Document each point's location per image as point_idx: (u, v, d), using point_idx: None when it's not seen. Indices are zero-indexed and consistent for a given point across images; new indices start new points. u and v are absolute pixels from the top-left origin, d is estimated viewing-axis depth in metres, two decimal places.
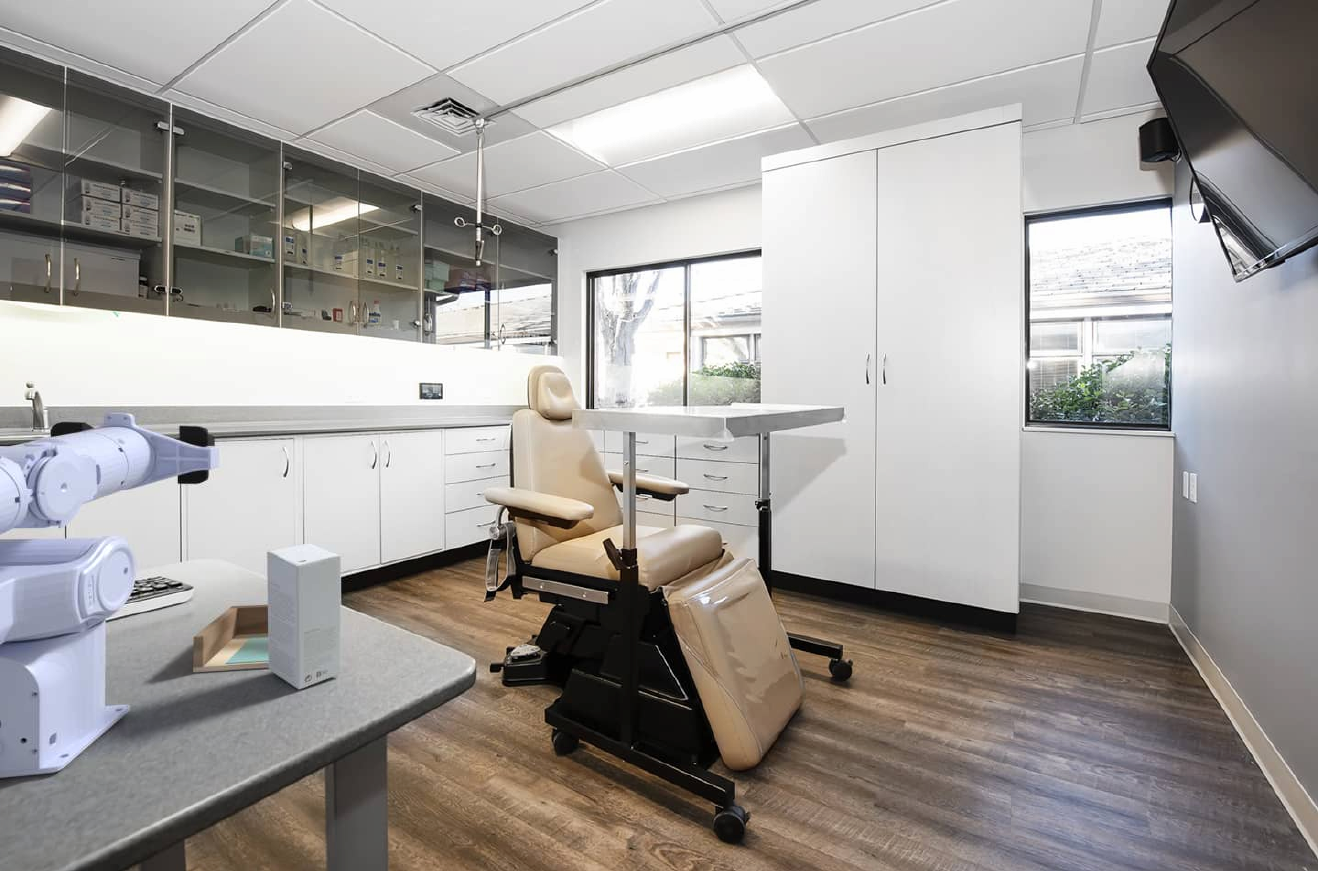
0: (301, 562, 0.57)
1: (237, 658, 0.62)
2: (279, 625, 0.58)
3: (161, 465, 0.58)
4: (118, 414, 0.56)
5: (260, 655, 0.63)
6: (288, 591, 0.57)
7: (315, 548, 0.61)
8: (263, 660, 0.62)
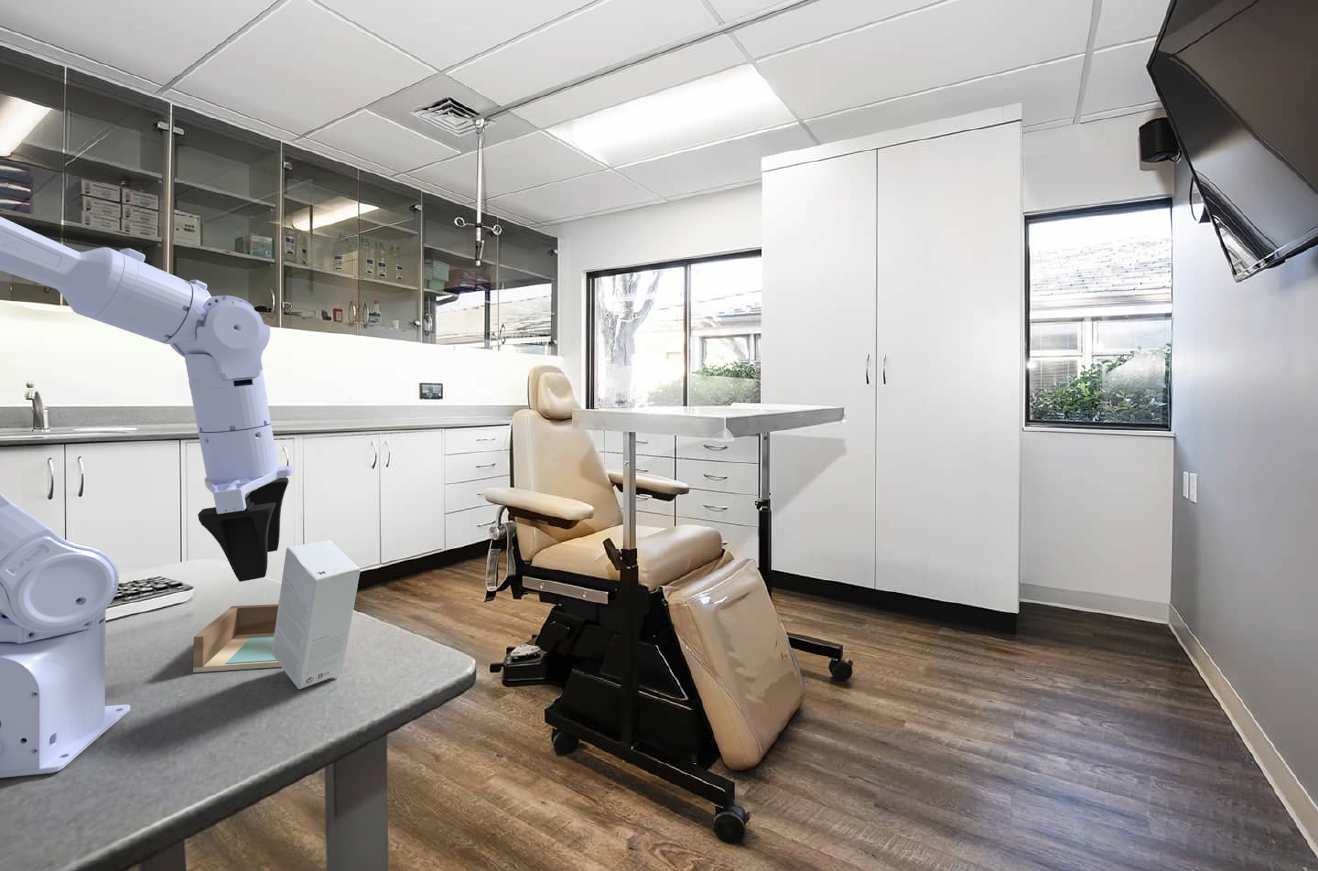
0: (320, 575, 0.55)
1: (237, 658, 0.62)
2: (288, 622, 0.57)
3: None
4: (290, 467, 0.60)
5: (260, 655, 0.63)
6: (302, 598, 0.56)
7: (335, 551, 0.59)
8: (263, 660, 0.62)
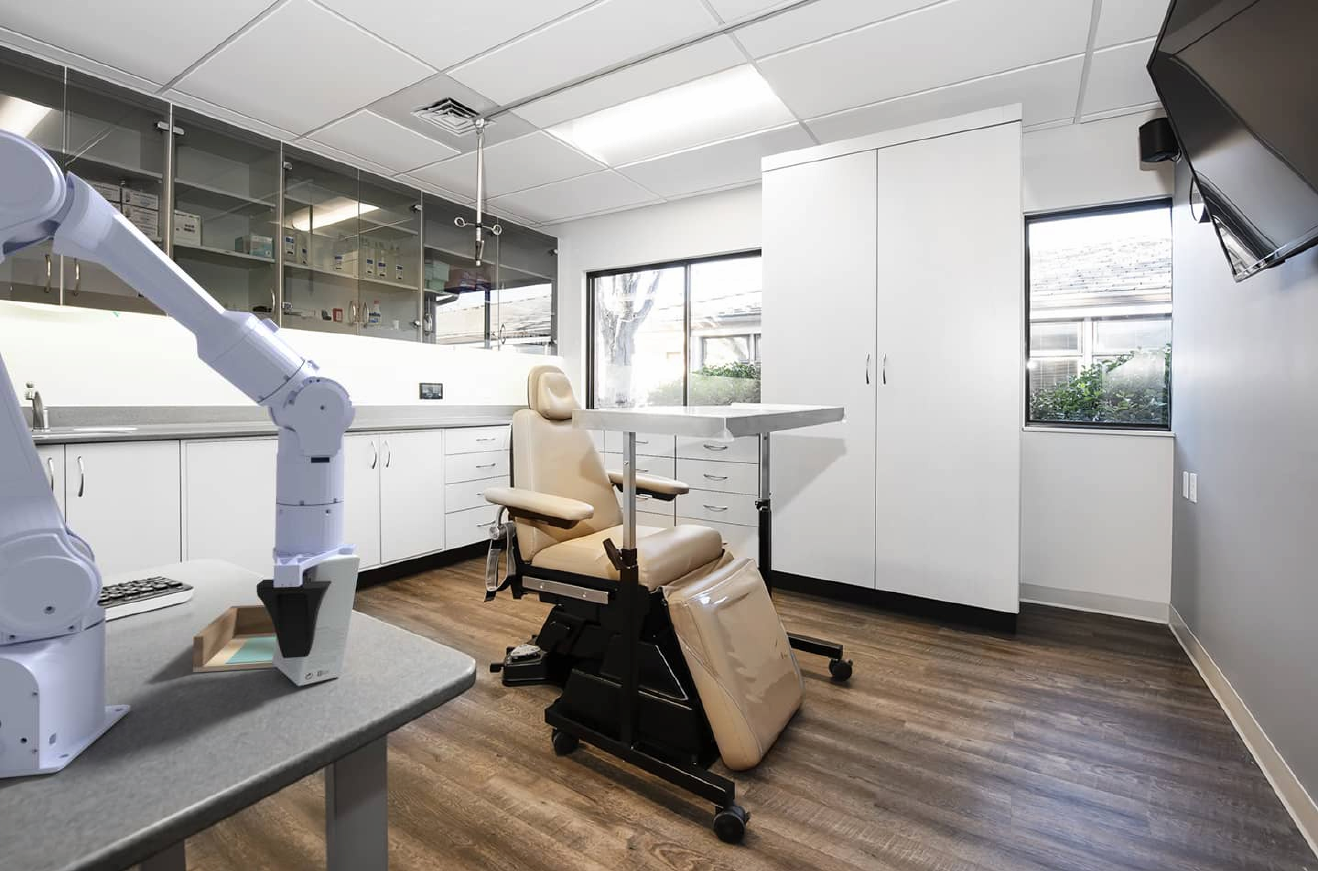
0: None
1: (237, 658, 0.62)
2: None
3: None
4: (353, 546, 0.61)
5: (260, 655, 0.63)
6: None
7: None
8: (263, 660, 0.62)
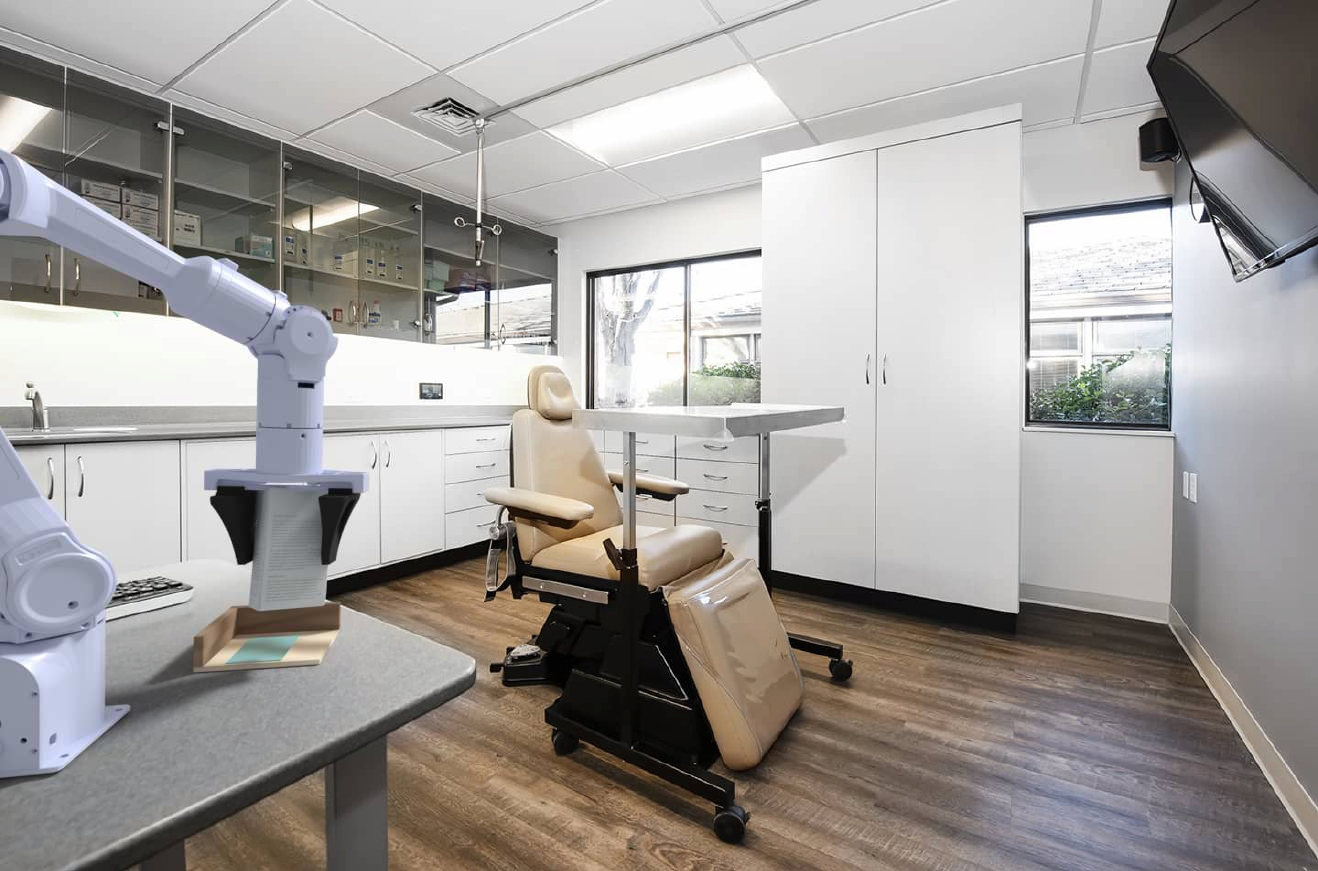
0: None
1: (237, 658, 0.62)
2: (291, 554, 0.61)
3: None
4: None
5: (260, 655, 0.63)
6: (314, 516, 0.63)
7: None
8: (263, 660, 0.62)
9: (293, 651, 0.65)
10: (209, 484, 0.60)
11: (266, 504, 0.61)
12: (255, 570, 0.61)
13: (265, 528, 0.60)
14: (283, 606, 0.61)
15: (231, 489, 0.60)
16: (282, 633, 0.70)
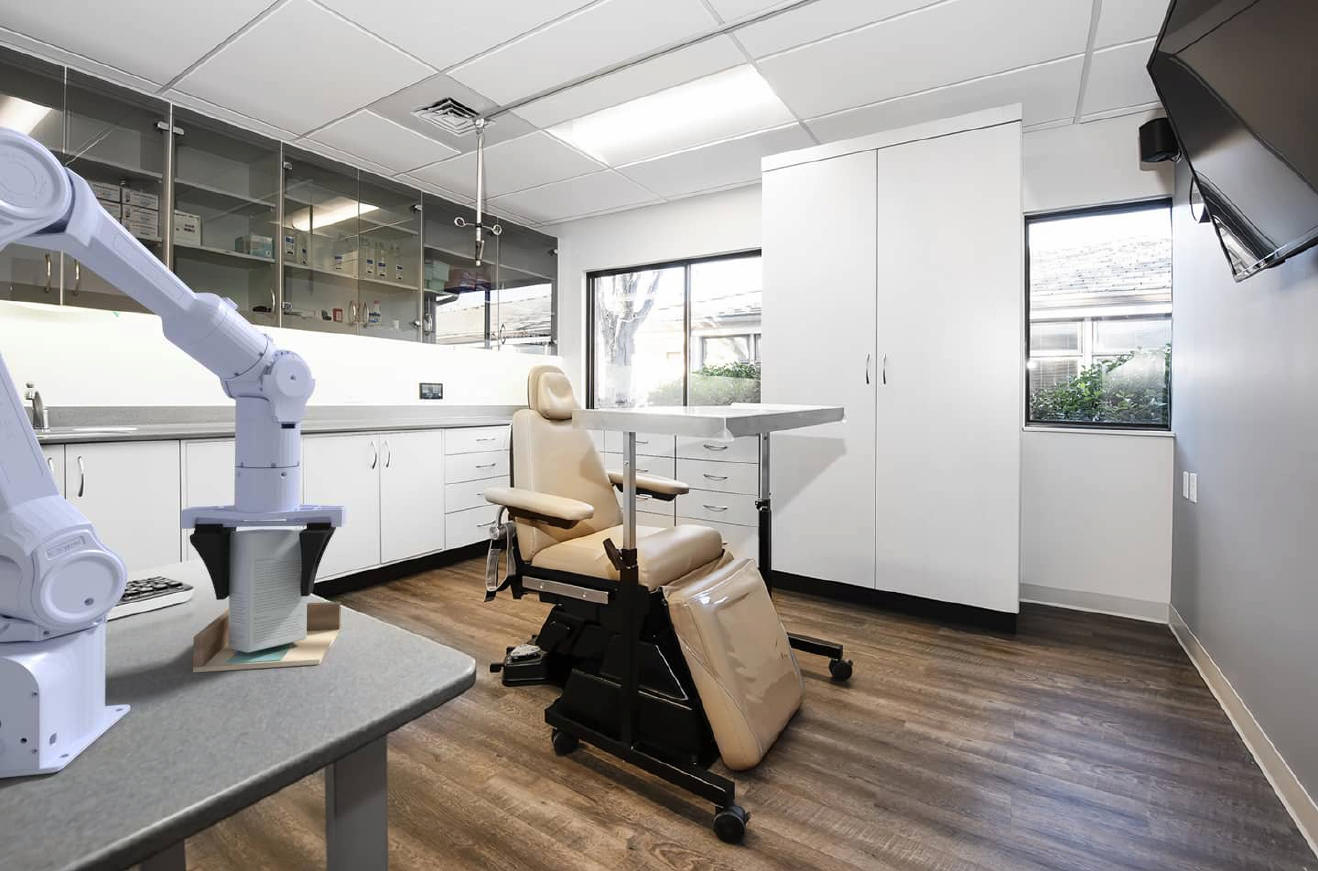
0: (300, 528, 0.67)
1: (237, 658, 0.62)
2: (273, 595, 0.64)
3: None
4: None
5: (260, 655, 0.63)
6: (292, 556, 0.66)
7: None
8: (263, 660, 0.62)
9: (293, 651, 0.65)
10: (187, 523, 0.62)
11: (246, 550, 0.63)
12: (236, 613, 0.63)
13: (247, 573, 0.62)
14: (269, 645, 0.63)
15: (209, 527, 0.62)
16: None
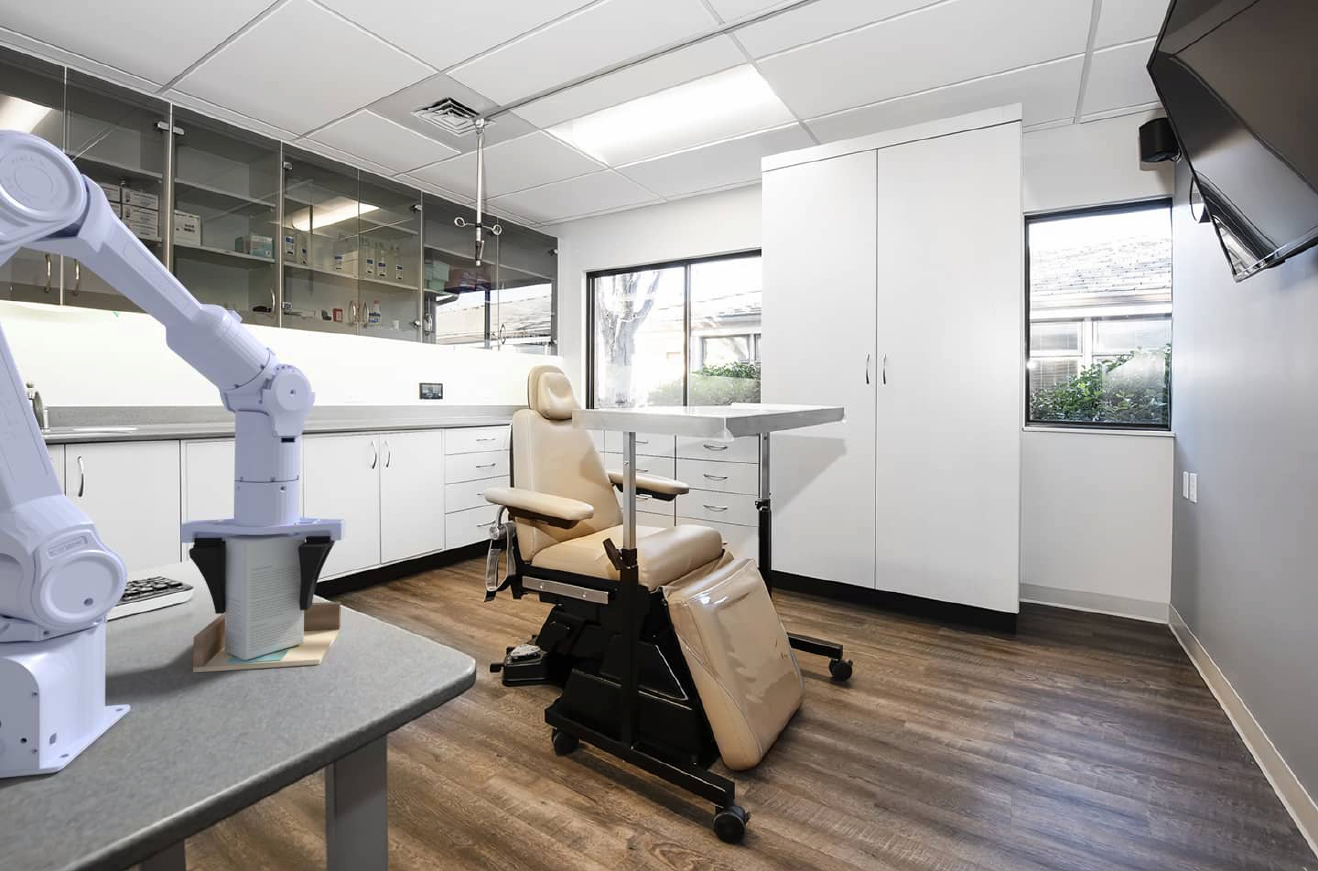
0: None
1: (237, 658, 0.62)
2: (270, 602, 0.63)
3: None
4: None
5: None
6: (289, 563, 0.65)
7: None
8: (263, 660, 0.62)
9: (293, 651, 0.65)
10: (186, 537, 0.62)
11: (242, 559, 0.61)
12: (232, 619, 0.63)
13: (244, 582, 0.61)
14: (266, 651, 0.63)
15: (208, 541, 0.62)
16: None
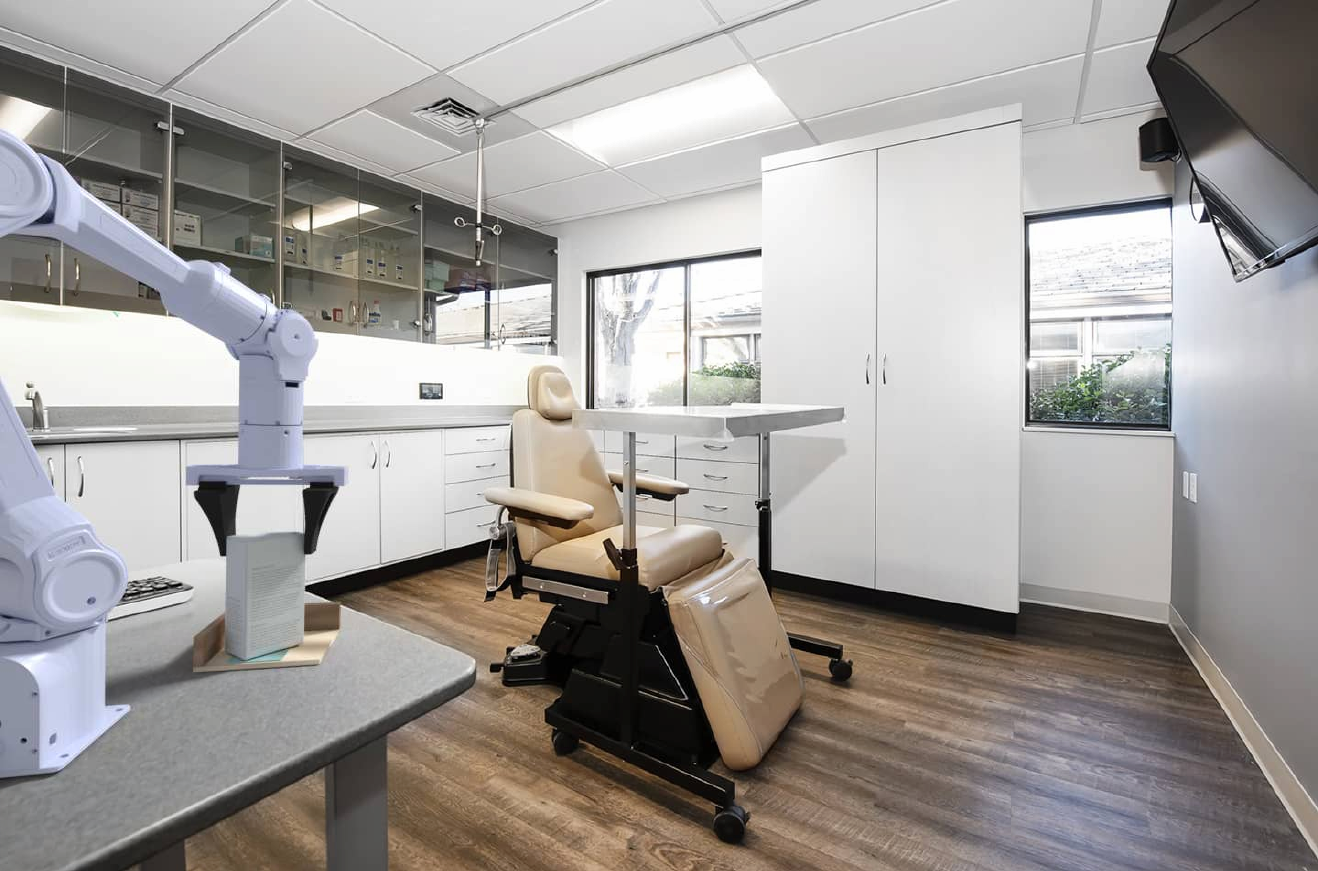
0: (298, 533, 0.66)
1: (237, 658, 0.62)
2: (271, 602, 0.63)
3: None
4: None
5: None
6: (290, 562, 0.65)
7: (252, 533, 0.65)
8: (263, 660, 0.62)
9: (293, 651, 0.65)
10: (191, 479, 0.62)
11: (243, 558, 0.61)
12: (232, 619, 0.63)
13: (244, 582, 0.61)
14: (266, 651, 0.63)
15: (213, 484, 0.63)
16: None
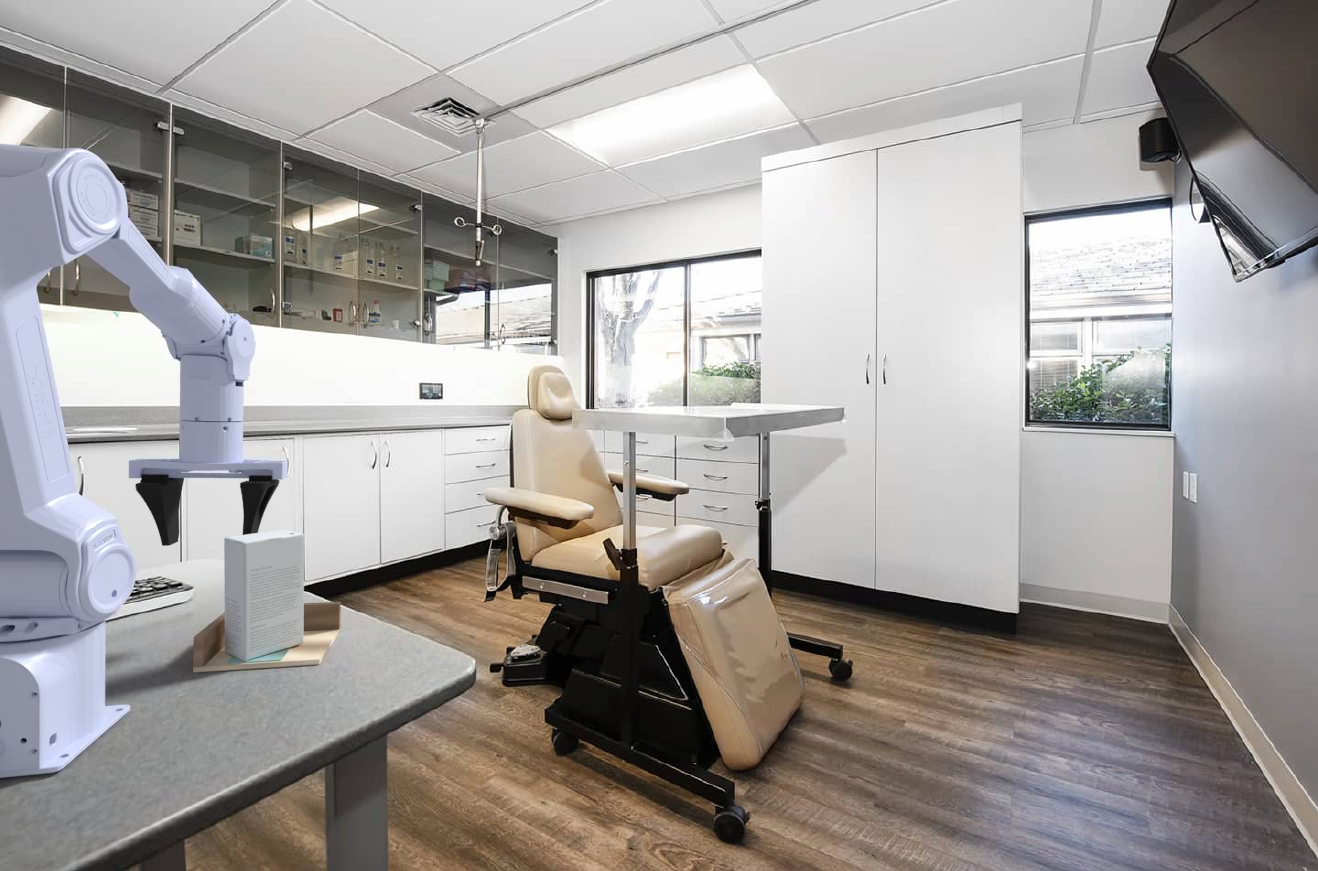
0: (296, 533, 0.66)
1: (237, 658, 0.62)
2: (270, 603, 0.63)
3: None
4: None
5: None
6: (288, 563, 0.65)
7: (250, 534, 0.65)
8: (263, 660, 0.62)
9: (293, 651, 0.65)
10: (134, 473, 0.66)
11: (241, 559, 0.61)
12: (232, 620, 0.63)
13: (243, 583, 0.61)
14: (266, 652, 0.63)
15: (155, 477, 0.67)
16: None
